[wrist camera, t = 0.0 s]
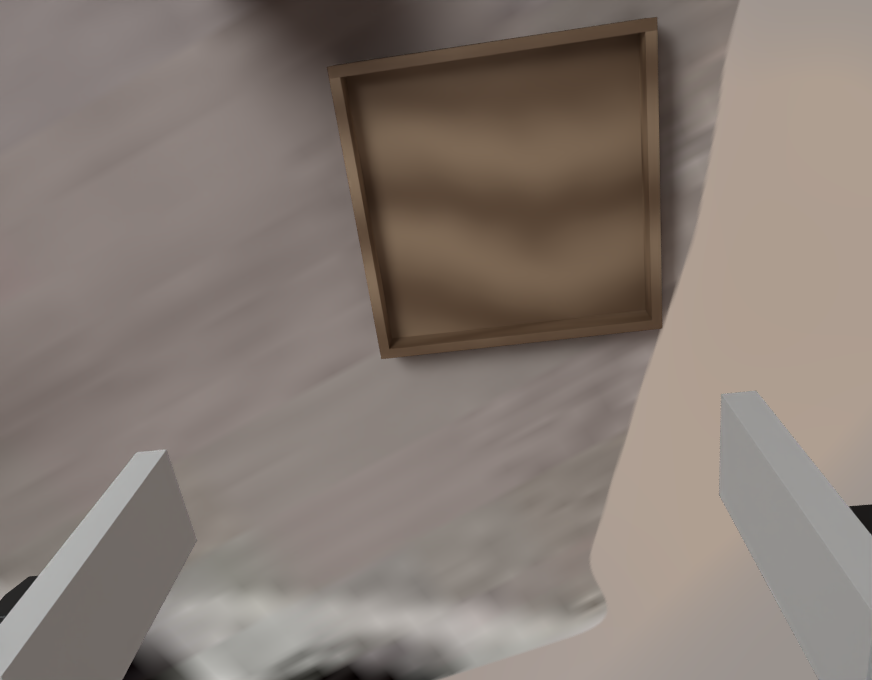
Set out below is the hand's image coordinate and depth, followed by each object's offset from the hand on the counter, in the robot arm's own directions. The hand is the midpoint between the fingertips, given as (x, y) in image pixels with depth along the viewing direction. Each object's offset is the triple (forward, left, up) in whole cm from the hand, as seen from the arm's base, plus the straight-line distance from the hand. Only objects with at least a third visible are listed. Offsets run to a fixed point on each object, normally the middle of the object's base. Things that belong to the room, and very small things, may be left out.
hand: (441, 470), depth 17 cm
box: (0, +3, -28) cm, 28 cm away
